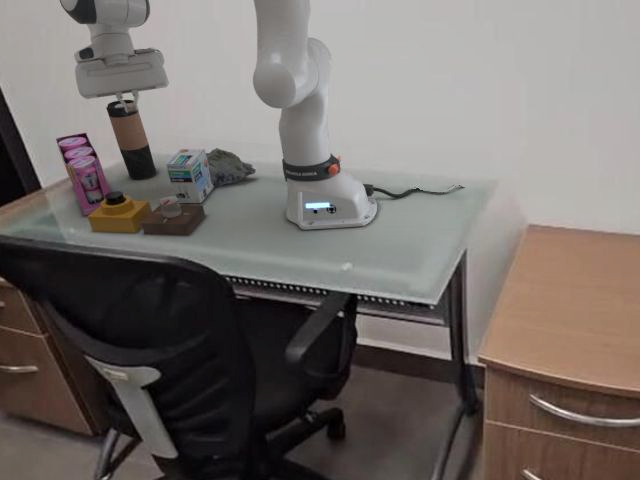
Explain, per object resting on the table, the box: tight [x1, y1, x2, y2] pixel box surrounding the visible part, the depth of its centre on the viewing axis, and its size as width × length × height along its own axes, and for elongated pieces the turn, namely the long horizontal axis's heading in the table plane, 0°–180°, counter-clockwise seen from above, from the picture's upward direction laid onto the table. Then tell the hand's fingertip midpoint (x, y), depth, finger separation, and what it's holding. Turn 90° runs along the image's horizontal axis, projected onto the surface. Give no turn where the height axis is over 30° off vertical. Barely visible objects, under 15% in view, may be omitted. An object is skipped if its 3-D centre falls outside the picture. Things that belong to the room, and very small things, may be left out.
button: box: [105, 190, 125, 205], centre depth 146 cm, size 4×4×2 cm
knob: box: [158, 195, 182, 218], centre depth 145 cm, size 4×4×4 cm
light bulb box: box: [165, 148, 215, 204], centre depth 158 cm, size 11×7×11 cm, turn 177°
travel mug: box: [105, 99, 157, 181], centre depth 168 cm, size 8×8×20 cm
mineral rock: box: [206, 147, 257, 188], centre depth 164 cm, size 13×11×10 cm
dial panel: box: [141, 204, 206, 236], centre depth 147 cm, size 11×10×3 cm
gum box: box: [55, 132, 111, 216], centre depth 158 cm, size 24×8×14 cm, turn 31°
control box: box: [86, 194, 153, 234], centre depth 148 cm, size 11×9×6 cm
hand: (132, 111), depth 148 cm, fingers closed
